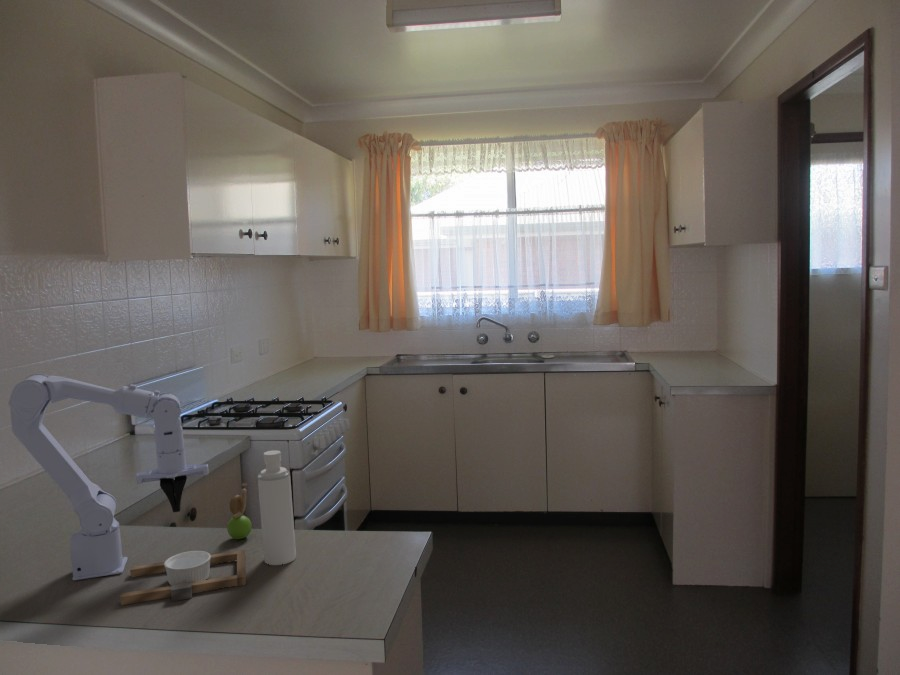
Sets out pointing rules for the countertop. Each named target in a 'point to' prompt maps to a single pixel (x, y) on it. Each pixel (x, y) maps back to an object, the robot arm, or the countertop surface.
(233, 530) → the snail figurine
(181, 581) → the ramekin
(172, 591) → the brown flat frame
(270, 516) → the white bottle
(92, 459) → the countertop surface
